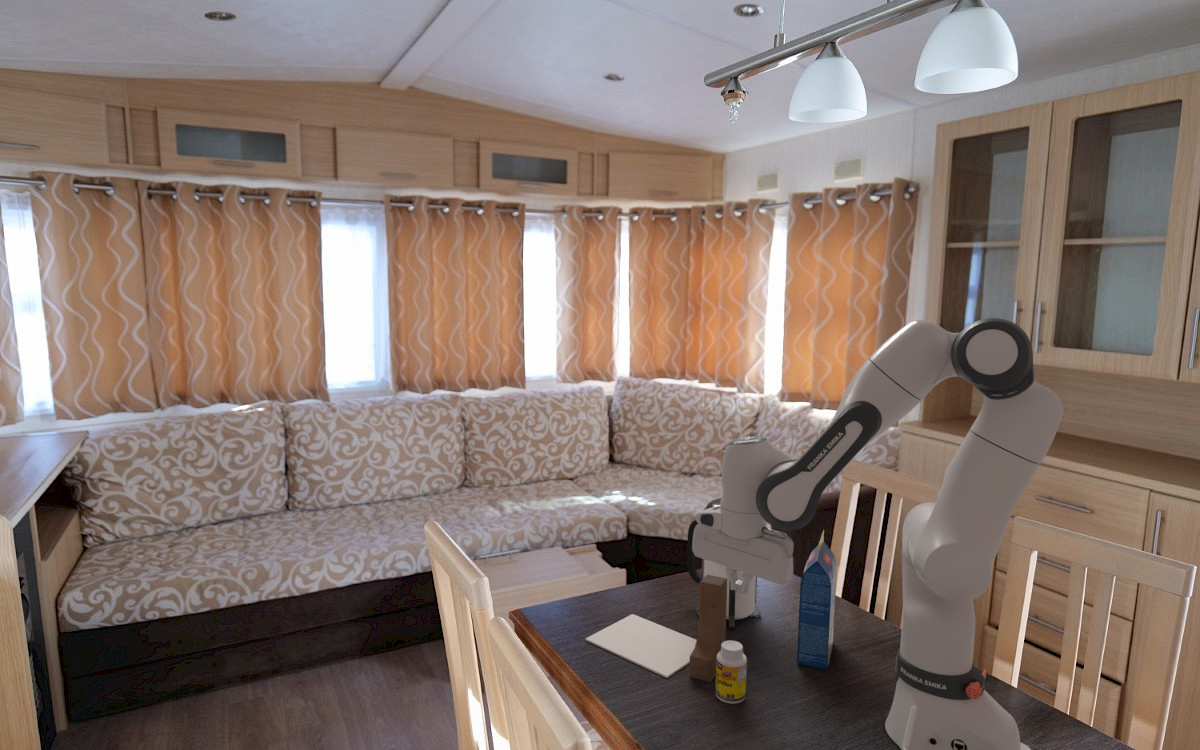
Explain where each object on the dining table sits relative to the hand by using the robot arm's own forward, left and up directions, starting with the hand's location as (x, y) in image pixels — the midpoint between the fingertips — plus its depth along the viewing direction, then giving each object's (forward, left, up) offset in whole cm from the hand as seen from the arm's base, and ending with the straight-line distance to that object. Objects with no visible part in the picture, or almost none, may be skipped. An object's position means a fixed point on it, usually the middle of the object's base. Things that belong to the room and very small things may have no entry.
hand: (739, 591), depth 136 cm
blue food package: (-6, -21, -19) cm, 29 cm away
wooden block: (+7, 0, -19) cm, 20 cm away
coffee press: (+18, -23, -19) cm, 35 cm away
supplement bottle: (-2, +5, -19) cm, 19 cm away
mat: (+22, 0, -19) cm, 29 cm away
